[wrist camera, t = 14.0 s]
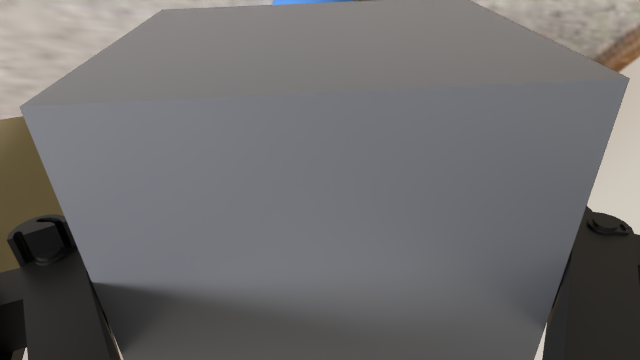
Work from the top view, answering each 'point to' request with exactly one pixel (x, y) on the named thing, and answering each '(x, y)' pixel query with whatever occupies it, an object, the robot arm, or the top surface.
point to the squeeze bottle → (21, 185)
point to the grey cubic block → (327, 179)
